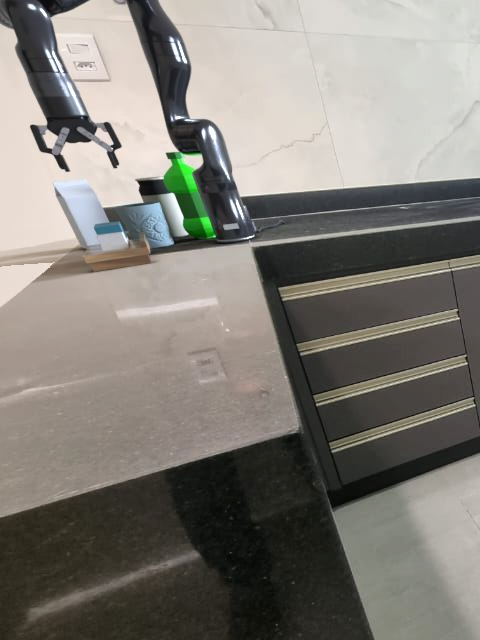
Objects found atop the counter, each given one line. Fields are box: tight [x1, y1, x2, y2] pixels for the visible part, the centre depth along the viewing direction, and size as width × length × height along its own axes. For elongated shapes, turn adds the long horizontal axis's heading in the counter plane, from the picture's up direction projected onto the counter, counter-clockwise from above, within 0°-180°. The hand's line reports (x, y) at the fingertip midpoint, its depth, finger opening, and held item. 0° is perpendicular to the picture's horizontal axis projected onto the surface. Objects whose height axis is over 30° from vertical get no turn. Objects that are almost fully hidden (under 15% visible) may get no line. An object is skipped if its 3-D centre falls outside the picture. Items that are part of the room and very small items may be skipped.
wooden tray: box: [82, 232, 153, 273], centre depth 137 cm, size 18×12×6 cm, turn 41°
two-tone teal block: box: [94, 220, 130, 252], centre depth 135 cm, size 12×5×6 cm, turn 42°
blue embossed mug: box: [114, 202, 175, 249], centre depth 154 cm, size 10×10×12 cm
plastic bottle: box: [163, 151, 216, 240], centre depth 161 cm, size 10×10×25 cm
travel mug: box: [134, 175, 190, 239], centre depth 166 cm, size 8×8×18 cm
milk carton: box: [52, 179, 110, 250], centre depth 155 cm, size 7×7×19 cm
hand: (92, 169), depth 128 cm, fingers open, 8 cm apart
